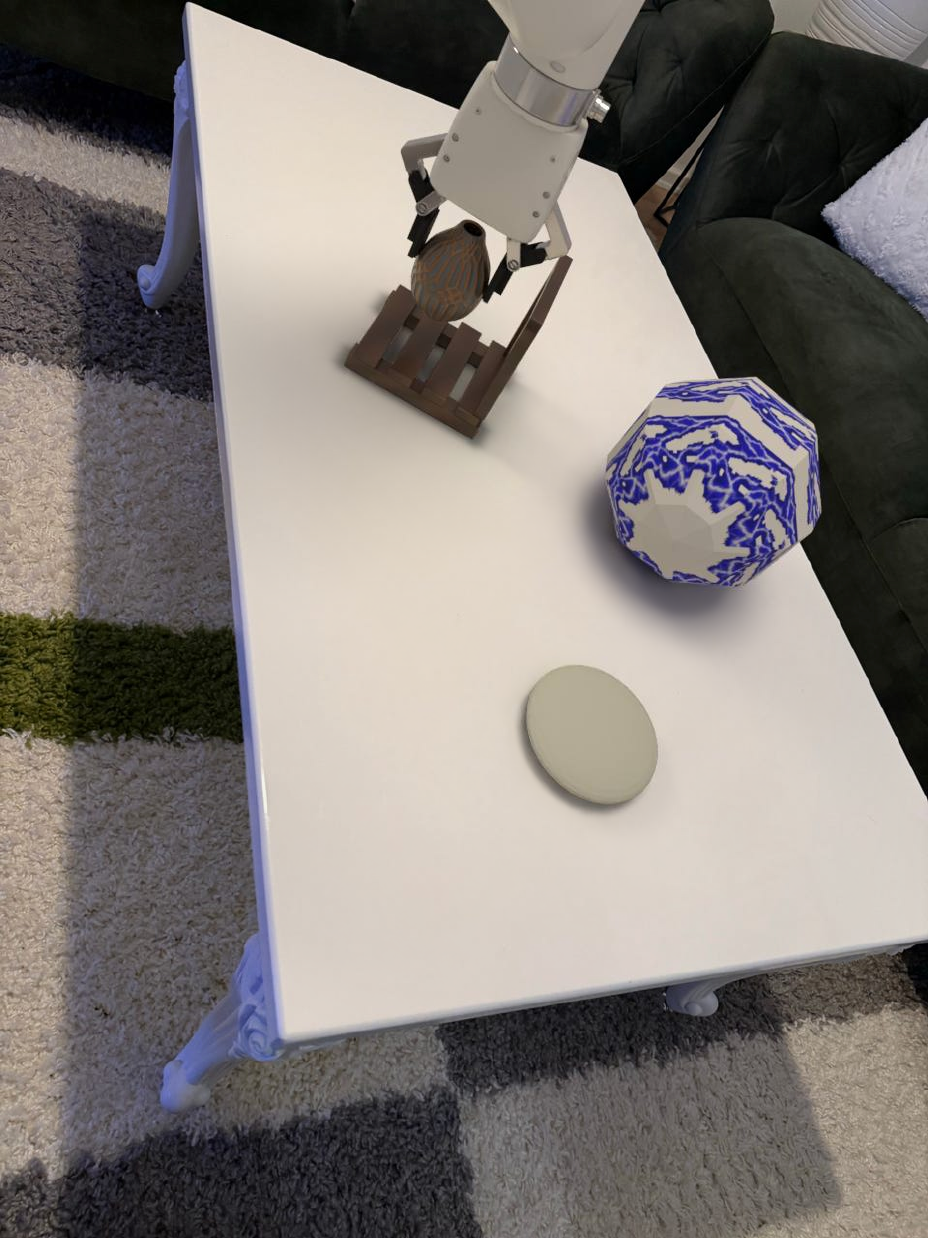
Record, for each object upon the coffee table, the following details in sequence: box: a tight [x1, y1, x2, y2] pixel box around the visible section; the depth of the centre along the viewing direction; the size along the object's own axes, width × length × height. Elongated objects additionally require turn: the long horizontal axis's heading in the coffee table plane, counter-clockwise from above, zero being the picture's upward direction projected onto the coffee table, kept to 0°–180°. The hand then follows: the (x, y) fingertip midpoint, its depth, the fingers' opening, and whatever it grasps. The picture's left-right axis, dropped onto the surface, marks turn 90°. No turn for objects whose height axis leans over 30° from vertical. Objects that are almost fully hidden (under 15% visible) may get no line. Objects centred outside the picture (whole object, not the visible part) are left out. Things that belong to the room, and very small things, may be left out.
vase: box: [410, 218, 492, 323], centre depth 79 cm, size 7×7×9 cm
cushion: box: [525, 664, 659, 805], centre depth 71 cm, size 12×12×3 cm
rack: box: [343, 254, 574, 440], centre depth 82 cm, size 14×12×15 cm
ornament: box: [604, 376, 822, 588], centre depth 82 cm, size 20×20×20 cm
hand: (452, 271), depth 79 cm, fingers closed on vase, 6 cm apart
